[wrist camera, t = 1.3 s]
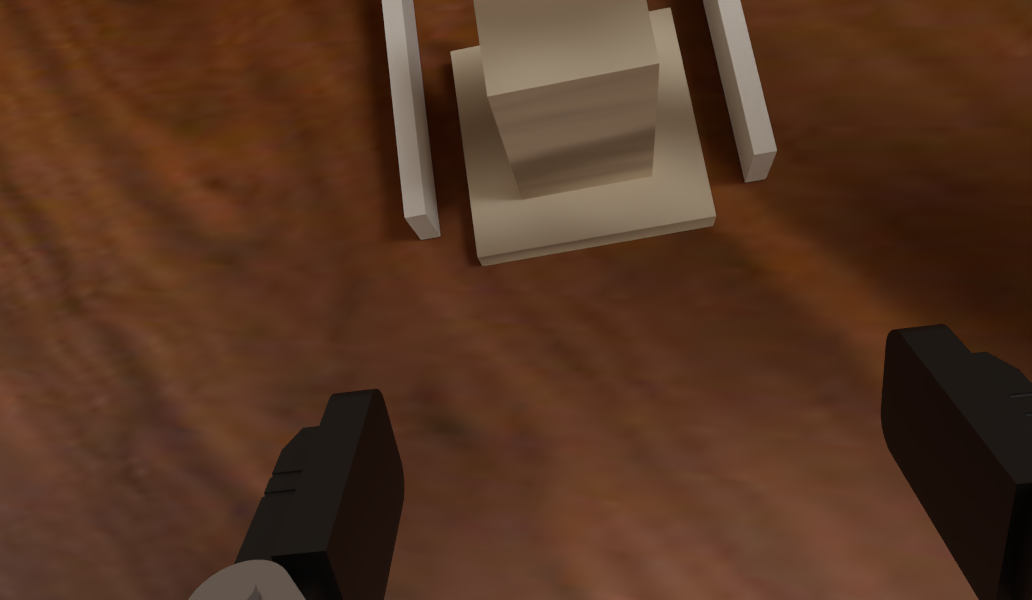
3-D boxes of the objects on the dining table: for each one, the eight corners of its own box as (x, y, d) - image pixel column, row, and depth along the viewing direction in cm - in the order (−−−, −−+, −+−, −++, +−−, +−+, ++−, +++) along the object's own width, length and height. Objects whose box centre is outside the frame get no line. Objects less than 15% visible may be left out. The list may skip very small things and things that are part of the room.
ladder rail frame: (770, 177, 31) (790, 130, 27) (416, 241, 33) (387, 203, 29) (690, -156, 36) (697, -238, 32) (380, -89, 37) (351, -159, 33)
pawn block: (713, 227, 31) (745, 112, 22) (482, 267, 32) (427, 171, 23) (669, 24, 34) (682, -150, 25) (456, 66, 35) (397, -88, 26)
